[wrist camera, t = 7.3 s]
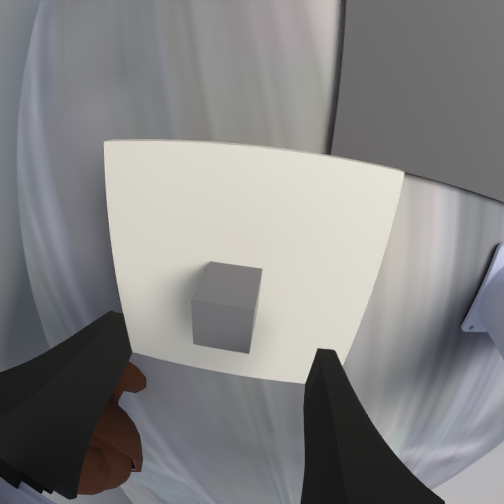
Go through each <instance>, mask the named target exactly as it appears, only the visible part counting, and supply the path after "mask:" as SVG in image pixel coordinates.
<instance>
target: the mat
mask: <svg viewBox="0 0 504 504" xmlns="http://www.w3.org/2000/svg"><path fill="white" fill-rule="evenodd" d="M330 155H331V156H337V157H342V158H348V159H353V160H358V161H363V162H368V163H373V164H378V165H382V166H387V167H391V168H395V169H400V170H401V171H403V172H406V173H410V174H414V175H418V176H422V177H425V178H429V179H433V180H436V181H440V182H443V183H447V184H450V185H454V186H457V187H460V188H463V189H467V190H470V191H473V192H476V193H479V194H482V195H485V196H488V197H491V198H494V199H496V200H499V201H502V202H504V0H345V16H344V31H343V44H342V56H341V67H340V77H339V86H338V95H337V104H336V112H335V120H334V128H333V135H332V142H331V149H330Z"/></svg>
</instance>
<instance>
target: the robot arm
mask: <svg viewBox="0 0 504 504" xmlns="http://www.w3.org/2000/svg"><path fill="white" fill-rule="evenodd" d="M461 329H462V330H463V331H464V332H488V334H489V335H490V337H491V339H492V340H493V342H494V344H495V345H496V347H497V349H498V350H499V352H500V354H501V356H502V357H503V359H504V244H500V245H499V246H498V247H497V249H496V252H495V254H494V257H493V259H492V262H491V264H490V267H489V269H488V272H487V274H486V276H485V279H484V281H483V283H482V285H481V287H480V290H479V292H478V294H477V296H476V298H475V300H474V302H473V304H472V306H471V308H470V310H469V312H468V314H467V316H466V318H465V320H464V322H463V324H462V326H461ZM131 353H132V348H131V344H130V340H129V336H128V331H127V327H126V323H125V318H124V314H121V313H117V312H113V311H109V312H108V313H106V314H104V315H103V316H101V317H100V318H98V319H97V320H95V321H94V322H92V323H91V324H89V325H88V326H86V327H85V328H83V329H82V330H80V331H79V332H77V333H76V334H74V335H73V336H71V337H70V338H68V339H67V340H65V341H64V342H62V343H60V344H59V345H57V346H55V347H54V348H52V349H50V350H49V351H47V352H45V353H44V354H42V355H40V356H38V357H36V358H34V359H32V360H30V361H28V362H26V363H23V364H21V365H18V366H16V367H13V368H11V369H8V370H6V371H3V372H0V504H56V503H55V502H53V501H51V500H50V499H48V498H46V497H45V496H43V495H42V492H43V490H45V491H46V492H48V493H49V494H52V492H53V491H55V492H57V493H58V494H60V495H62V496H64V497H66V498H67V499H69V500H70V499H75V498H76V497H77V492H78V486H79V480H80V475H81V471H82V467H83V463H84V459H85V455H86V452H87V449H88V446H89V443H90V440H91V437H92V434H93V432H94V429H95V426H96V424H97V421H98V419H99V417H100V415H101V413H102V411H103V409H104V407H105V406H106V404H107V402H108V400H109V398H110V397H111V395H112V393H113V391H114V389H115V388H116V386H117V384H118V382H119V380H120V379H121V377H122V375H123V373H124V371H125V368H126V366H127V364H128V361H129V358H130V356H131ZM303 409H304V440H305V470H304V480H303V489H302V496H301V504H445V501H444V500H442V499H441V498H440V497H439V496H437V495H436V494H434V492H432V491H431V490H430V489H429V488H427V487H426V486H425V485H424V484H423V483H422V482H421V481H420V480H419V479H418V478H417V477H415V476H414V475H413V474H412V473H411V471H410V470H409V469H408V468H407V467H406V466H405V465H404V464H403V463H402V462H401V460H400V459H399V458H398V457H397V456H396V455H395V454H394V452H393V451H392V450H391V449H390V447H389V446H388V445H387V443H386V442H385V441H384V439H383V438H382V436H381V435H380V434H379V432H378V431H377V429H376V428H375V426H374V425H373V423H372V422H371V420H370V418H369V417H368V415H367V413H366V412H365V410H364V408H363V406H362V405H361V403H360V401H359V399H358V397H357V395H356V393H355V392H354V390H353V388H352V386H351V384H350V382H349V380H348V378H347V375H346V373H345V371H344V369H343V367H342V364H341V362H340V360H339V358H338V355H337V353H336V351H335V350H332V349H322V348H317V351H316V354H315V357H314V360H313V363H312V366H311V369H310V372H309V375H308V377H307V380H306V383H305V394H304V407H303Z"/></svg>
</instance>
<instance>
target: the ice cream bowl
mask: <svg viewBox="0 0 504 504" xmlns="http://www.w3.org/2000/svg"><path fill="white" fill-rule="evenodd" d="M145 387H146V378H145V376H144V375H143V374H142V373H141V372H140V370H139V369H138V368H137V367H136V366H134V365H133V364H131V363H129V362H128V364H127V366H126V368H125V371H124V373H123V375H122V377H121V379H120V380H119V382H118V384H117V386H116V388H115V389H114V391H113V393H112V395H111V397H110V398H109V400H108V402H107V404H106V406H105V407H104V409H103V411H102V413H101V415H100V417H99V419H98V421H97V424H96V426H95V429H94V432H93V434H92V437H91V440H90V443H89V446H88V449H87V452H86V455H85V459H84V463H83V467H82V471H81V475H80V480H79V486H78V492H77V494H83V495H94V494H97V493H100V492H102V491H104V490H108V489H113V488H117V487H118V486H120V485H121V484H123V483H124V482H125V481H127V479H128V478H129V476H130V473H131V472H141V469H142V462H143V455H142V446H141V440H140V435H139V432H138V430H137V428H136V426H135V424H134V422H133V421H132V420H131V418H130V417H129V416H128V414H127V413H126V412H125V411H124V410H123V409H122V408H121V407H120V406H119V405H118V400H119V398H120V397H121V395H122V393H123V391H127V392H133V393H136V392H139V391H141V390H143V389H144V388H145Z"/></svg>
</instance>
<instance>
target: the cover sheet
mask: <svg viewBox="0 0 504 504" xmlns="http://www.w3.org/2000/svg"><path fill="white" fill-rule="evenodd" d="M104 160H105V182H106V197H107V209H108V219H109V229H110V237H111V245H112V253H113V260H114V266H115V272H116V278H117V284H118V290H119V295H120V300H121V305H122V310H123V314H124V318H125V323H126V327H127V331H128V336H129V340H130V344H131V348H132V352H135V353H138V354H142V355H146V356H150V357H153V358H157V359H161V360H166V361H170V362H174V363H178V364H183V365H187V366H192V367H197V368H202V369H207V370H212V371H217V372H223V373H229V374H235V375H241V376H247V377H254V378H261V379H268V380H276V381H284V382H294V383H304V384H305V383H306V380H307V377H308V375H309V372H310V369H311V366H312V363H313V360H314V357H315V354H316V351H317V348H322V349H332V350H335V351H336V353H337V355H338V358H339V360H340V362H341V364H342V366H343V364H344V362H345V359H346V357H347V355H348V352H349V350H350V348H351V345H352V343H353V340H354V338H355V335H356V333H357V330H358V328H359V325H360V323H361V320H362V317H363V315H364V312H365V309H366V307H367V304H368V301H369V298H370V295H371V293H372V290H373V287H374V284H375V281H376V278H377V275H378V272H379V269H380V265H381V262H382V259H383V256H384V252H385V249H386V246H387V242H388V239H389V235H390V231H391V228H392V224H393V220H394V216H395V213H396V209H397V204H398V200H399V196H400V192H401V187H402V183H403V178H404V173H405V172H403V171H401V170H400V169H395V168H391V167H387V166H382V165H378V164H373V163H368V162H363V161H358V160H353V159H348V158H342V157H337V156H331V155H325V154H319V153H313V152H306V151H299V150H292V149H284V148H276V147H268V146H259V145H249V144H238V143H226V142H212V141H194V140H164V139H120V140H108V141H104Z"/></svg>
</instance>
